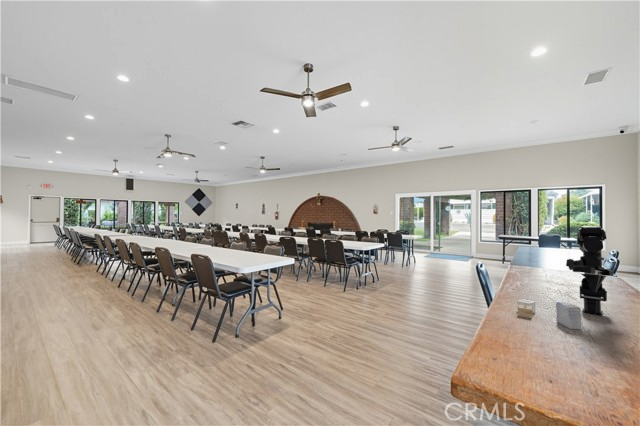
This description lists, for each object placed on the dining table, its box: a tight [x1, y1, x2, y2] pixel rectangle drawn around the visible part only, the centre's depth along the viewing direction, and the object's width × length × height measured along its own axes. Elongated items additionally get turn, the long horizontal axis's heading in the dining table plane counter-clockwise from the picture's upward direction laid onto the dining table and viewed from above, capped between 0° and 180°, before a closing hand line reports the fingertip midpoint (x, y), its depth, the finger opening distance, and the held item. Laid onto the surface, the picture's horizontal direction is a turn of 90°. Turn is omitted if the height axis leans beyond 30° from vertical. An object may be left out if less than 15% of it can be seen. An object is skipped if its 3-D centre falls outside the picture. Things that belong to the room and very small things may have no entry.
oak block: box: [517, 305, 534, 319], centre depth 126 cm, size 5×5×4 cm
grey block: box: [517, 299, 536, 314], centre depth 131 cm, size 5×5×5 cm
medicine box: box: [555, 301, 583, 331], centre depth 114 cm, size 8×4×9 cm, turn 168°
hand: (594, 291), depth 118 cm, fingers closed
